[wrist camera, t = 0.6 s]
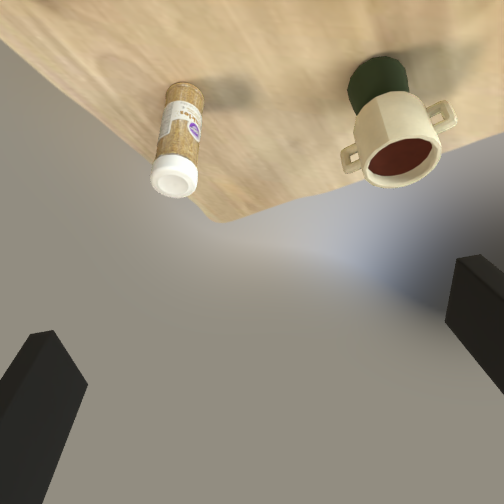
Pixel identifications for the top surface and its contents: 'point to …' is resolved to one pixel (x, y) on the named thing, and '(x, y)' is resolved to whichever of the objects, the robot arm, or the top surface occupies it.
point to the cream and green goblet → (392, 126)
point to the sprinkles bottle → (178, 142)
